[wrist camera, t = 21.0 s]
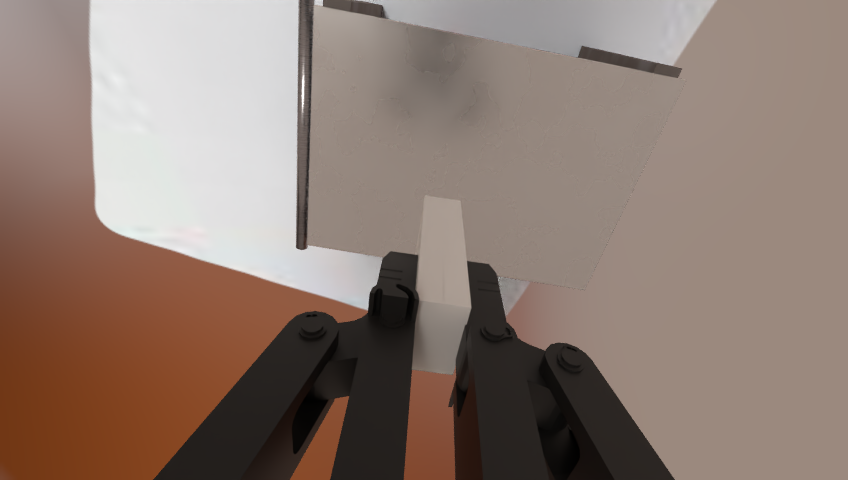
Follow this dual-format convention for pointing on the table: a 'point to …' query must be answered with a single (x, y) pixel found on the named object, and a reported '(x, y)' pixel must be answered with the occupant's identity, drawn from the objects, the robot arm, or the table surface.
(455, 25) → the table surface
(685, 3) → the table surface
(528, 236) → the lid
